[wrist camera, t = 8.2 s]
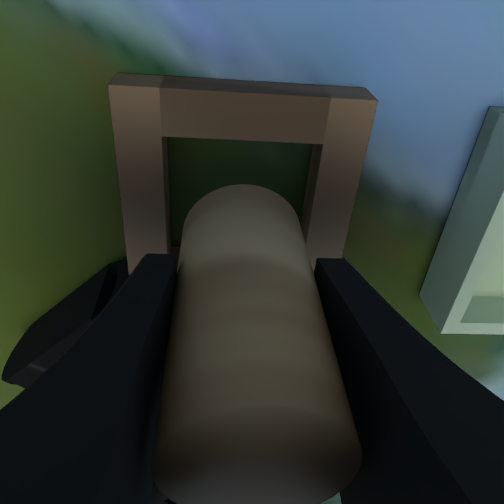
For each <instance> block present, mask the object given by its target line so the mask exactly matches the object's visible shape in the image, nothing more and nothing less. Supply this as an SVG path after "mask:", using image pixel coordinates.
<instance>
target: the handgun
mask: <svg viewBox="0 0 504 504" xmlns="http://www.w3.org/2000/svg"><path fill="white" fill-rule="evenodd" d="M129 276H130V275H129V271H128V262H126V261H119V262H116V263H113V264H111V265H110V264H109V265H108V266H107V267H105V268H104V269H103V270H102V271H100V272H99V273H98V274H96V275H95V276H94V277H93V278H91V279H90V280H89V281H87V282H86V283H85V284H84V285H82V286H81V287H80V288H78V289H77V290H76V291H75V292H73V293H72V294H71V295H69V296H68V297H67V298H66V299H64V300H63V301H62V302H60V303H59V304H58V305H57V306H55V307H54V308H53V309H51V310H50V311H49V312H48V313H46V314H45V315H44V316H42V317H41V318H40V319H39V320H37V321H36V322H35V323H33V325H32V326H31V327H30V328H29V329H28V330H27V331H26V332H25V334H24V335H23V336H22V338H21V339H20V340H19V342H18V343H17V345H16V346H15V348H14V350H13V351H12V353H11V355H10V356H9V358H8V360H7V362H6V365H5V367H4V370H3V373H2V380H3V381H5V382H7V383H10V384H17V385H19V386H21V387H23V388H25V389H26V388H27V387H28V386H29V385H30V384H31V383H32V382H33V381H34V380H35V379H37V378H38V377H39V376H40V375H41V374H42V373H43V372H44V371H45V370H46V369H47V368H48V367H49V366H50V365H51V364H52V363H53V362H55V361H56V360H57V359H58V358H59V357H60V356H61V355H62V354H63V353H64V352H65V351H66V350H67V348H68V347H69V346H70V345H71V344H72V343H73V342H74V341H75V340H76V339H77V338H78V337H79V336H80V335H81V333H82V332H83V331H84V330H85V329H86V328H87V327H88V326H89V325H90V324H91V323H92V322H93V320H94V319H95V318H96V317H97V316H98V315H99V313H100V312H101V311H102V310H103V309H104V307H105V306H106V305H107V304H108V303H109V301H110V300H111V299H112V298H113V297H114V295H115V294H116V293H117V292H118V290H119V289H120V288H121V286H122V285H123V284H124V283H125V281H126V280H127V279H128V277H129ZM151 504H177V503H175V502H173V501H172V500H170V499H169V498H168V497H166V496H165V495H164V494H163V493H162V492H161V491H160V490H159V489H158V487H157V486H156V484H155V483H154V481H153V487H152V496H151Z"/></svg>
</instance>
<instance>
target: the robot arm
mask: <svg viewBox="0 0 504 504" xmlns="http://www.w3.org/2000/svg"><path fill="white" fill-rule="evenodd" d="M176 277H177V258H176V254H154V253H147V254H146V255H145V256H144V257H142V259H141V260H140V262H139V263H138V265H137V266H136V267H135V269H134V270H133V272H132V273H131V274H130V276H129V277H128V279H127V280H126V281H125V283H124V284H123V285H122V286H121V288H120V289H119V290H118V292H117V293H116V294H115V295H114V297H113V298H112V299H111V300H110V301H109V303H108V304H107V305H106V306H105V307H104V309H103V310H102V311H101V312H100V313H99V315H98V316H97V317H96V318H95V319H94V320H93V322H92V323H91V324H90V325H89V326H88V327H87V328H86V329H85V330H84V331H83V332H82V333H81V335H80V336H79V337H78V338H77V339H76V340H75V341H74V342H73V343H72V344H71V345H70V346H69V347H68V348H67V350H66V351H65V352H64V353H63V354H62V355H61V356H60V357H59V358H58V359H57V360H56V361H55V362H53V363H52V364H51V365H50V366H49V367H48V368H47V369H46V370H45V371H44V372H43V373H42V374H41V375H40V376H39V377H38V378H37V379H35V380H34V381H33V382H32V383H31V384H30V385H29V386H28V387H27V388H26V389H24V390H23V391H22V392H21V393H20V394H19V395H18V396H16V397H15V398H14V399H13V400H12V401H10V402H9V403H8V404H7V405H6V406H4V407H3V408H2V409H1V410H0V504H151V496H152V487H153V481H154V480H153V478H152V474H151V462H152V455H153V448H154V440H155V433H156V425H157V418H158V410H159V403H160V396H161V388H162V381H163V373H164V366H165V358H166V351H167V344H168V336H169V329H170V321H171V314H172V306H173V299H174V292H175V284H176ZM314 277H315V281H316V284H317V288H318V292H319V295H320V299H321V303H322V306H323V310H324V314H325V317H326V321H327V325H328V328H329V332H330V336H331V339H332V343H333V347H334V350H335V354H336V357H337V361H338V365H339V368H340V372H341V376H342V379H343V383H344V387H345V390H346V394H347V398H348V401H349V405H350V409H351V412H352V416H353V420H354V423H355V427H356V431H357V434H358V438H359V442H360V445H361V449H362V462H361V466H360V469H359V471H358V473H357V474H356V476H355V477H354V479H353V480H352V481H351V482H350V483H349V484H348V485H347V486H346V487H345V488H344V489H343V490H342V491H340V497H341V503H342V504H504V401H503V400H502V399H500V398H499V397H497V396H496V395H495V394H493V393H492V392H491V391H489V390H488V389H487V388H486V387H484V386H483V385H482V384H480V383H479V382H478V381H476V380H475V379H474V378H472V377H471V376H470V375H468V374H467V373H466V372H464V371H463V370H462V369H461V368H459V367H458V366H457V365H456V364H455V363H453V362H452V361H451V360H450V359H448V358H447V357H446V356H445V355H444V354H443V353H441V352H440V351H439V350H438V349H437V348H436V347H435V346H433V345H432V344H431V343H430V342H429V341H428V340H427V339H425V338H424V337H423V336H422V335H421V334H420V333H419V332H418V331H417V330H415V329H414V328H413V327H412V326H411V325H410V324H409V323H408V322H407V321H406V320H405V319H404V318H403V317H402V316H401V315H400V314H399V313H398V312H397V311H395V310H394V309H393V308H392V307H391V306H390V305H389V304H388V303H387V302H386V301H385V300H384V299H383V298H382V297H381V296H380V295H379V293H378V292H377V291H376V290H375V289H374V288H373V287H372V286H371V285H370V284H369V283H368V282H367V281H366V280H365V279H364V278H363V277H362V276H361V275H360V274H359V273H358V272H357V271H356V270H355V269H354V268H353V267H352V266H351V265H350V264H349V263H348V262H347V261H346V260H345V259H344V258H317V259H316V264H315V270H314Z"/></svg>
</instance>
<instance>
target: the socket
mask: <svg viewBox="0 0 504 504" xmlns="http://www.w3.org/2000/svg"><path fill="white" fill-rule="evenodd" d="M108 90H109V99H110V108H111V117H112V126H113V135H114V144H115V153H116V162H117V171H118V181H119V190H120V199H121V208H122V217H123V226H124V235H125V244H126V253H127V262H128V271H129V275H130V274H131V273H132V272H133V270H134V269H135V267H136V266H137V265H138V263H139V262H140V260H141V259H142V257H144V256H145V255H146V254H147V253H154V254H176V258H177V269H178V262H179V254H180V247H176V246H171V227H170V201H169V176H168V150H167V137H184V138H205V139H225V140H246V141H266V142H287V143H307V144H313V146H312V152H311V159H310V165H309V172H308V178H307V184H306V191H305V197H304V203H303V210H302V216H301V223H300V226H301V229H302V233H303V237H304V240H305V244H306V248H307V251H308V255H309V259H310V262H311V266H312V270H313V273H314V270H315V264H316V259H317V258H342V255H343V250H344V246H345V242H346V237H347V233H348V229H349V224H350V220H351V216H352V211H353V207H354V203H355V198H356V194H357V190H358V185H359V181H360V177H361V172H362V168H363V164H364V159H365V155H366V151H367V146H368V142H369V138H370V133H371V129H372V125H373V120H374V116H375V112H376V108H377V103H378V100H377V99H376V98H375V97H374V96H373V95H372V94H371V93H370V92H369V91H368V90H367V89H366V88H359V87H342V86H326V85H310V84H293V83H277V82H260V81H244V80H227V79H211V78H195V77H178V76H162V75H145V74H129V73H117V74H116V76H115V77H114V78H113V79H112V80H111V82H110V83H109V84H108Z"/></svg>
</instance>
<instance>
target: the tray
mask: <svg viewBox="0 0 504 504" xmlns="http://www.w3.org/2000/svg"><path fill="white" fill-rule="evenodd" d="M419 296H420V298H421V300H422V302H423V303H424V305H425V307H426V309H427V310H428V312H429V314H430V316H431V317H432V319H433V321H434V323H435V324H436V326H437V328H438V330H439V332H440V333H441V334H504V107H489V110H488V112H487V115H486V118H485V120H484V123H483V126H482V128H481V131H480V134H479V136H478V139H477V141H476V144H475V147H474V149H473V152H472V155H471V157H470V160H469V163H468V165H467V168H466V171H465V173H464V176H463V179H462V181H461V184H460V187H459V189H458V192H457V195H456V197H455V200H454V203H453V205H452V208H451V211H450V213H449V216H448V219H447V221H446V224H445V227H444V229H443V232H442V235H441V237H440V240H439V243H438V245H437V248H436V251H435V253H434V256H433V259H432V261H431V264H430V267H429V269H428V272H427V275H426V277H425V280H424V283H423V285H422V288H421V291H420V293H419Z"/></svg>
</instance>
